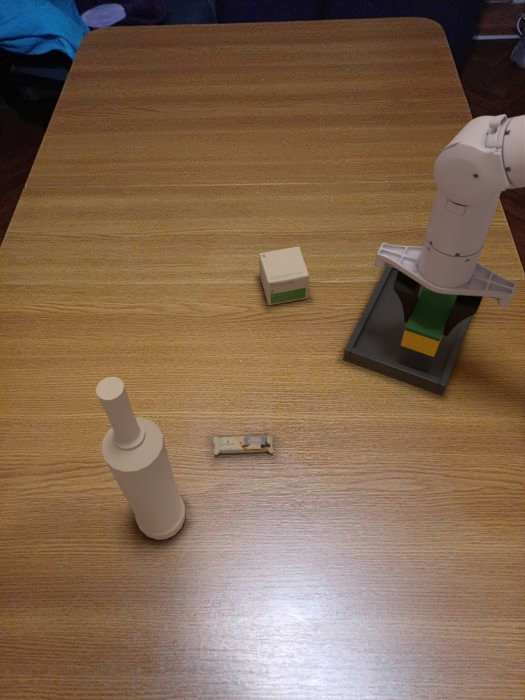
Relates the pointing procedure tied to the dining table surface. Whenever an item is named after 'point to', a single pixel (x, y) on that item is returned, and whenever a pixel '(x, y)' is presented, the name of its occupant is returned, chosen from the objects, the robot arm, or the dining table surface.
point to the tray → (385, 342)
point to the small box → (284, 275)
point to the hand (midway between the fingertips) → (428, 323)
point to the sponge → (428, 321)
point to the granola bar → (242, 444)
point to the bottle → (140, 464)
